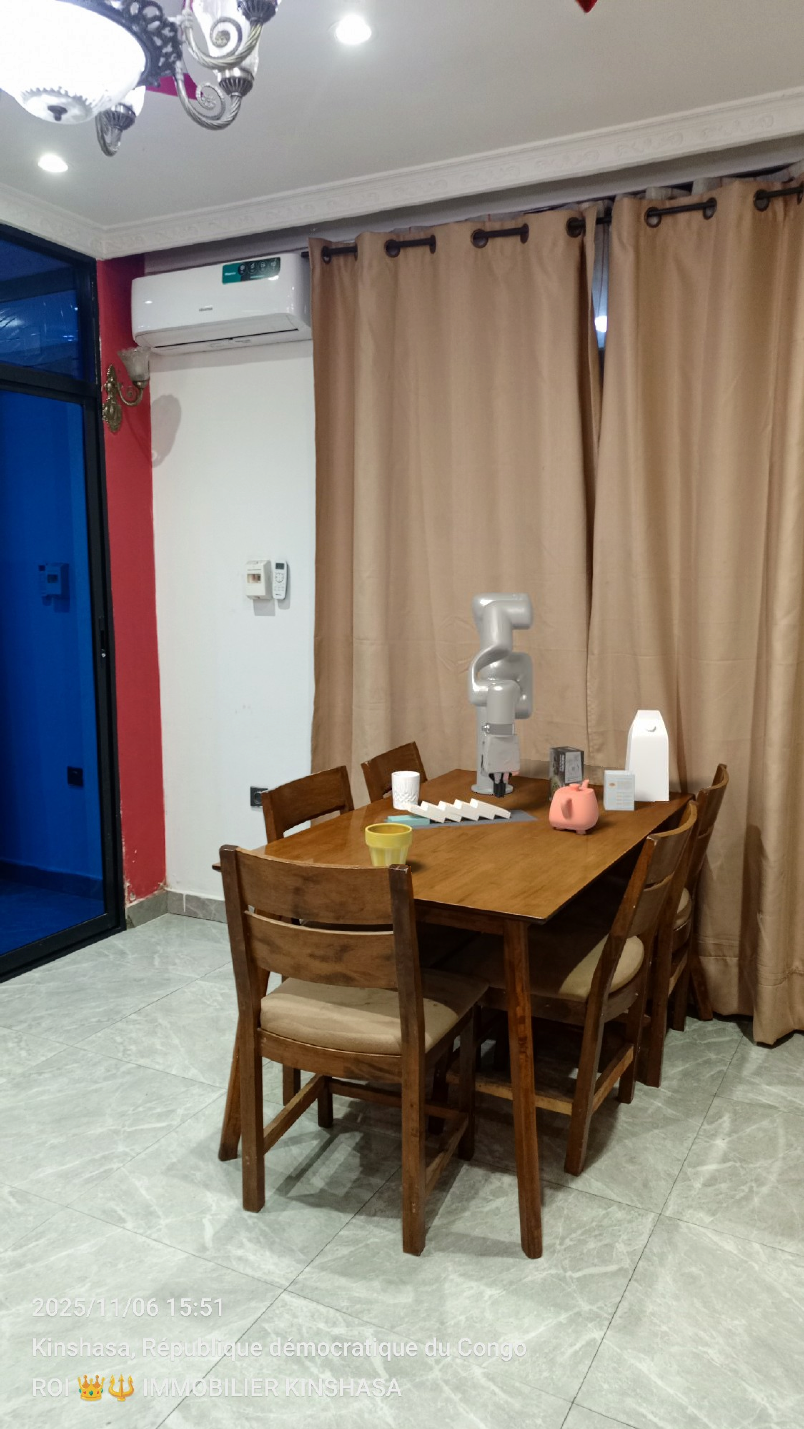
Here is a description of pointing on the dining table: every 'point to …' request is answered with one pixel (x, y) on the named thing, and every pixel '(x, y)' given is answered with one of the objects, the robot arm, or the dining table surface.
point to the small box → (619, 790)
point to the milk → (649, 756)
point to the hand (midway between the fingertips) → (499, 796)
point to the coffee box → (565, 768)
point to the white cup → (405, 788)
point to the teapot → (574, 808)
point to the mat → (514, 817)
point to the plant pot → (388, 843)
